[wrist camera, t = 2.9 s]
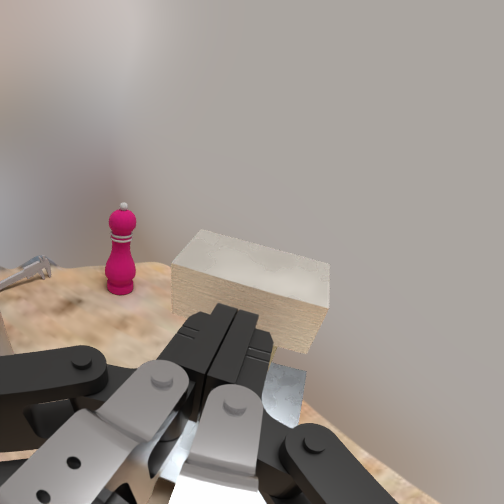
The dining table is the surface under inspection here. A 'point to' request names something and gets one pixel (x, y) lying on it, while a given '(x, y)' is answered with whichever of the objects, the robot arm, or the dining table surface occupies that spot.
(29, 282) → the dining table surface
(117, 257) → the pepper mill
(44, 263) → the caliper
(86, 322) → the dining table surface
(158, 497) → the dining table surface
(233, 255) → the brushed metal stamp
